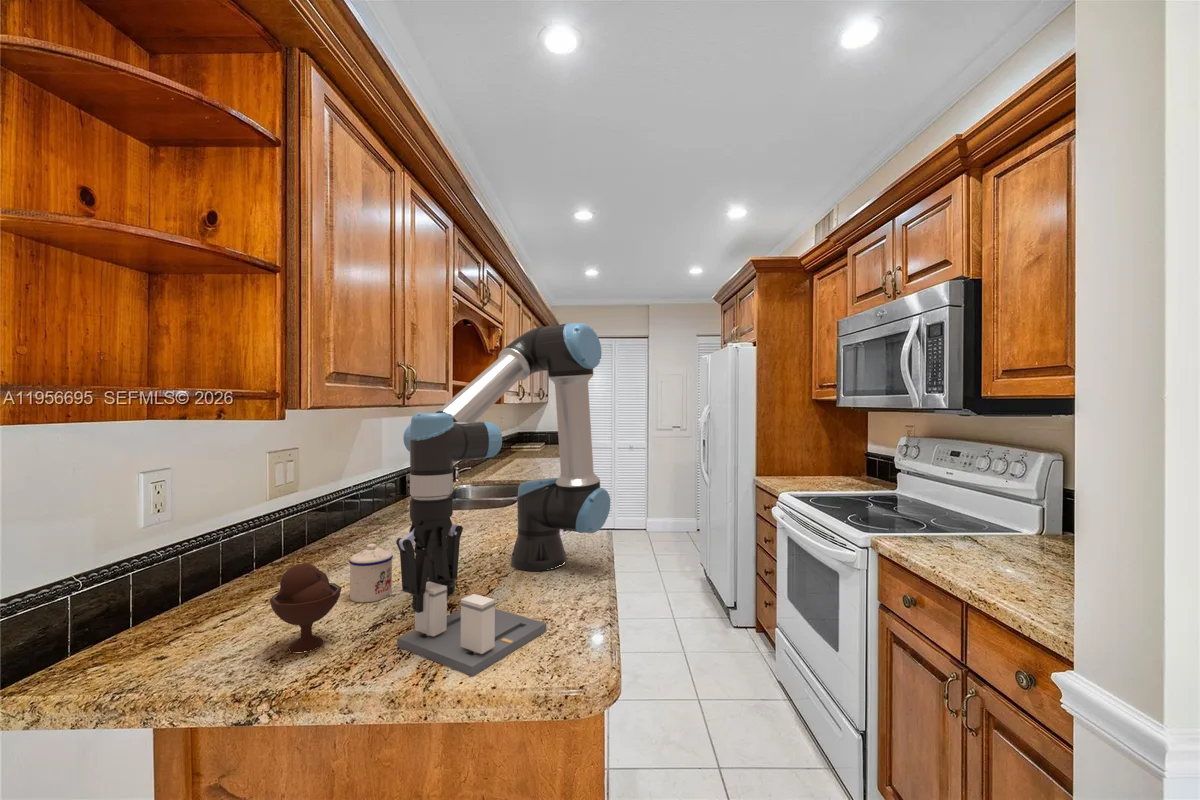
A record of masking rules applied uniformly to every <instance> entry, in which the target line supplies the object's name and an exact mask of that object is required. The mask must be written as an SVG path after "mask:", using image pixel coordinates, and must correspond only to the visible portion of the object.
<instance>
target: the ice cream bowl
mask: <svg viewBox="0 0 1200 800" xmlns="http://www.w3.org/2000/svg"><path fill="white" fill-rule="evenodd" d="M279 586H280V587H279V591H278V592H276V593H275V594H274V595H273V596H272V597H270V598H269V602H270V607H271V609H272V611H273V612H274V614H275V615H276V616H277V617H278V618H279V619H281V620H282V621H283V622H285V623H286V624H289V625H291V626H299V628H300V636H299V637H298V638H297V639H296V640H294V641H292V643H290V645H289V646H288V648H289V649H290V651H291V652H304V651H310V650H313V649H315V648H317V647H319V648H321V647H322V646H323V645H324V643H325V641H324V639H323V638H322V637H321V636H318V635H315V634H313V629H312V628H313V625H314V624H315V623H316V622H318V621H321V620H322V619H323V618H324V617H326V616H327V614H328V613H329V612H330V611H331V610H332V609H333V608H334V607H335V605H336V604H337V603H338V600H339V599H340V596H341V592H342V587H341V586H340V585H338V584H336V583H333V582H330V580H329V577H328V576H327V573H325V572H324V571H322V570H321V569H319V568H318V567H316V566H315V565H314V564H310V563H308V562H304V563H299V564H298V563H297V564H295V565H293V566H291V567H290V568H288V569H287V570H286V571H285V572H284V573H283V574H282V577H281V578H280V582H279ZM323 642H324V643H323ZM321 645H322V646H321ZM320 646H321V647H320ZM317 649H318V648H317ZM315 650H316V649H315ZM290 651H289V652H290ZM313 651H314V650H313ZM310 652H311V651H310Z"/></svg>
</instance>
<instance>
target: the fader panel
mask: <svg viewBox="0 0 1200 800" xmlns="http://www.w3.org/2000/svg"><path fill="white" fill-rule="evenodd" d="M546 632H547V622H543V621H539V620H537V619H533V618H529V617H526V616H521V615H518V614H515V613H513V612H509V611H505V610H501V609H498V608H495V647H493V648H492V649H490V650H488V651H486V652H485V653H483V654H480V653H476V654H474V653H473V651H472V650H469V649H466V648H463V647H461V609H459V610H457V611H455V612H451V613H450V614H448V615H447V630H446V631H444V632H442V633H440V634H438V635H436V636H427V634H425V633H422V632H419V631H416V630H415V629H414V630H412V631H410V632H407V633H405V634H402V635H401V636H398V637H396V647H397V646H398V647H397V648H400V649H403V650H405V651H407V652H410V653H413V654H415V655H418V656H419V657H422V658H425V659H428V660H431V661H432V662H436V663H438V664H441V665H442V666H445V667H448V668H450V669H453V670H456V671H458V672H461V673H463V674H465V675H467V676H471V677H474V676H475V675H477V674H479V673H480V672H482V671H484V670H485V669H487V668H489V667H490V666H492V665H493V664H495V663H497V662H498V661H500V660H502V659H503V658H505V657H507V656H508V655H510V654H511V653H514V652H516V650H518V649H520V648H521V647H523V646H525V645H526V644H528V643H529V642H531V641H533V640H535V639H536V638H537V637H539V636H540V635H542V634H544V633H546Z"/></svg>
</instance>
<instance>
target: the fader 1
mask: <svg viewBox="0 0 1200 800" xmlns="http://www.w3.org/2000/svg"><path fill="white" fill-rule="evenodd" d="M425 592H427V593H429V630H427V631H424V630H421V629H418V628H415V627H414V630H416V631H419V632H422V633H425V634H427V636H436V635H438V634H440V633H442V632H444V631H446V630H447V613H448V611H447V610H448V601H447V586H444V585H440V584H437V583H433V582H429V581H428V582H426V589H425ZM414 614H415V615H414V626H415V625H416V612H414Z"/></svg>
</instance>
